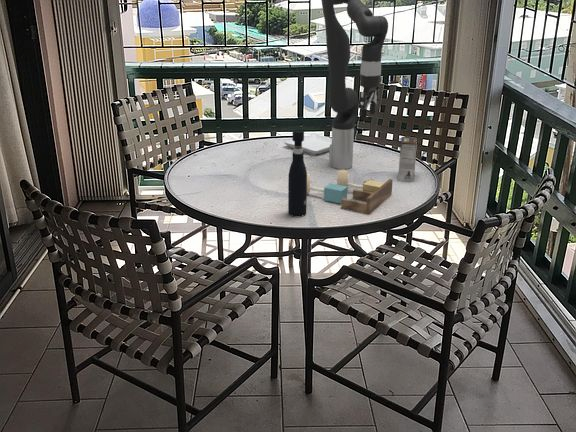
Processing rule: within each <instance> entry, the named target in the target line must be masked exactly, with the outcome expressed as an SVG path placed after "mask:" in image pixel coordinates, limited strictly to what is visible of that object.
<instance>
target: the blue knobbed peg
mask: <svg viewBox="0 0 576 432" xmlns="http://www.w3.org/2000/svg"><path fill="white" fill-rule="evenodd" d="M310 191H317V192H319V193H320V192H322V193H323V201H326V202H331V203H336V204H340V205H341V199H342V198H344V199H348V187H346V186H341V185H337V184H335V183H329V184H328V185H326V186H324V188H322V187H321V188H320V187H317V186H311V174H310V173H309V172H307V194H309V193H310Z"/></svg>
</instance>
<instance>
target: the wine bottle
mask: <svg viewBox="0 0 576 432" xmlns="http://www.w3.org/2000/svg"><path fill="white" fill-rule="evenodd" d="M304 136H305V131H304V130H303V129H294V130H292V139H293V141H295V142H294V146H295V147H294V148H292V150H293V152H292V159H291V160H292V161H291V164H290V167H289V171H288V180H287V181H288V196H287V197H288V201H287V202H288V204H287V206H288V207H287V210H288V211H287V212H288V213H289V214H290V215H293V216H292V217H294V216H301V217H303V216H302V215H304V216H306V215H307V203H308V202H307V199H308V193H307V173H308V172H307V167H306V164H305V161H304V153H305V152H304V151H302V150H303V148H302V141H304ZM289 214H288V215H289ZM305 214H306V215H305ZM290 215H289V216H290Z"/></svg>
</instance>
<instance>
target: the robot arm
mask: <svg viewBox="0 0 576 432" xmlns="http://www.w3.org/2000/svg"><path fill="white" fill-rule="evenodd" d="M343 4H346V5H347V6H346V14H347V16H348V17H349V19H351V20H352V22H354V23H355V25H356V26H355V27H357V31H358V33H359V35H361V36H362V37H366V38H370V37H371V38H372V37H373V38H372V40H371V41H370V42H368V43H365V44H363V45H362V48H361V64H360V69H359V72H360V73H359V86H360V87H362V88H363V89H362V90H363V91H359V94H357V92H356V90H355V89H353V88H351V87H347V85H346V77H347V76H346V75H347V71H348V67H349V64H350V61H351V59H350V58H351V45H350V43H351V42H350V37H349V35H348V33H347V32H346V30H345V29H344V27H343V26H342V25H341V24H340V22H339V19H338V18H337V15H336V12H335V7H334V6H336V5H343ZM321 8H322V11H323V18H324V19H323V20H324V26H325V36H326V37H325V38H326V39H325V40H326V53H327V62H328V63H327V65H328V76H329V85H328V86H329V88H328V89H329V91H328V93H329V95H328V99H329V106H330V108H331V109H332V111H333V112H335V113H336V116H335V117H334V118H333V119H332V125H331V138H332V144H330V150H329V151H328V153H329V156H328V166H329V167H331V168H333V169H338V170H341V169H344V170H349V169H351V168H353V161H354V158H353V156H354V141H355V140H354V138H355V137H354V135H355V123H356V121H357V118H358V116H357V115H358V109H360V119H361V120H367V119H368V107H369V115H370V114H371V115H375V114H376V111H377V110H376V109H377V104H378V102H379V101H380V86H381V77H382V52H383V46H384V43H385V40H386V37H387V34H388V32H389V31H388V30H389V21H388V19H387V17H385V16H384V15H374V14H373V12H372V10H371V9H370V8H369V7H368V6H367V5H366V4H364V2H362V0H321Z"/></svg>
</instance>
